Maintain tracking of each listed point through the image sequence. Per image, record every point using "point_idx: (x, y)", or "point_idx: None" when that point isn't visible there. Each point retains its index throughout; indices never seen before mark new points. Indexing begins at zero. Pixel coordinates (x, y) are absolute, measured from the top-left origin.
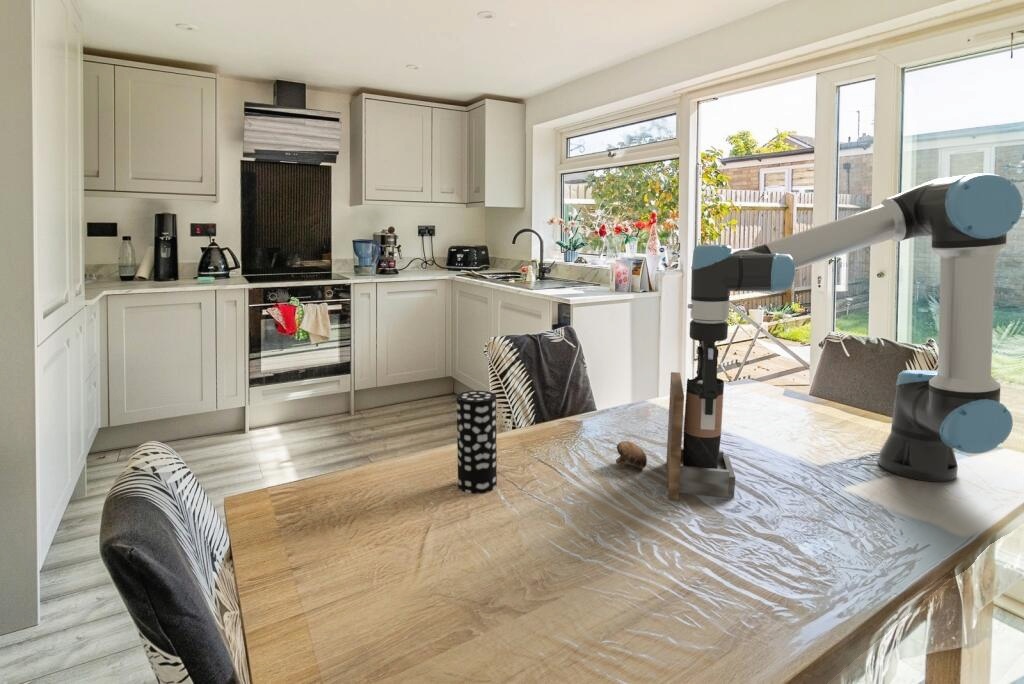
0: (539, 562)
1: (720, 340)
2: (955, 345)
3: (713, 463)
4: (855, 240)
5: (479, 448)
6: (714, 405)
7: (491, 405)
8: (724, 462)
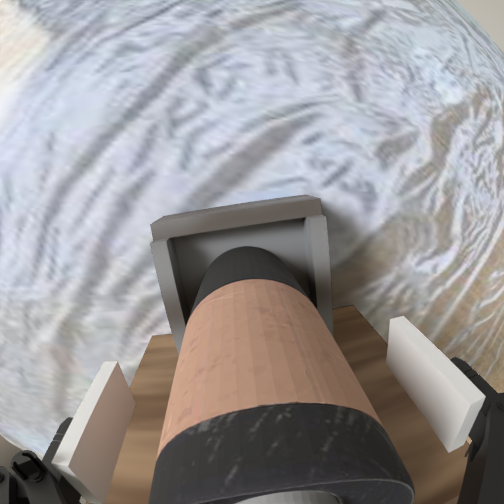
0: (495, 386)
1: None
2: None
3: (282, 264)
4: None
5: None
6: (462, 379)
7: None
8: (202, 231)
